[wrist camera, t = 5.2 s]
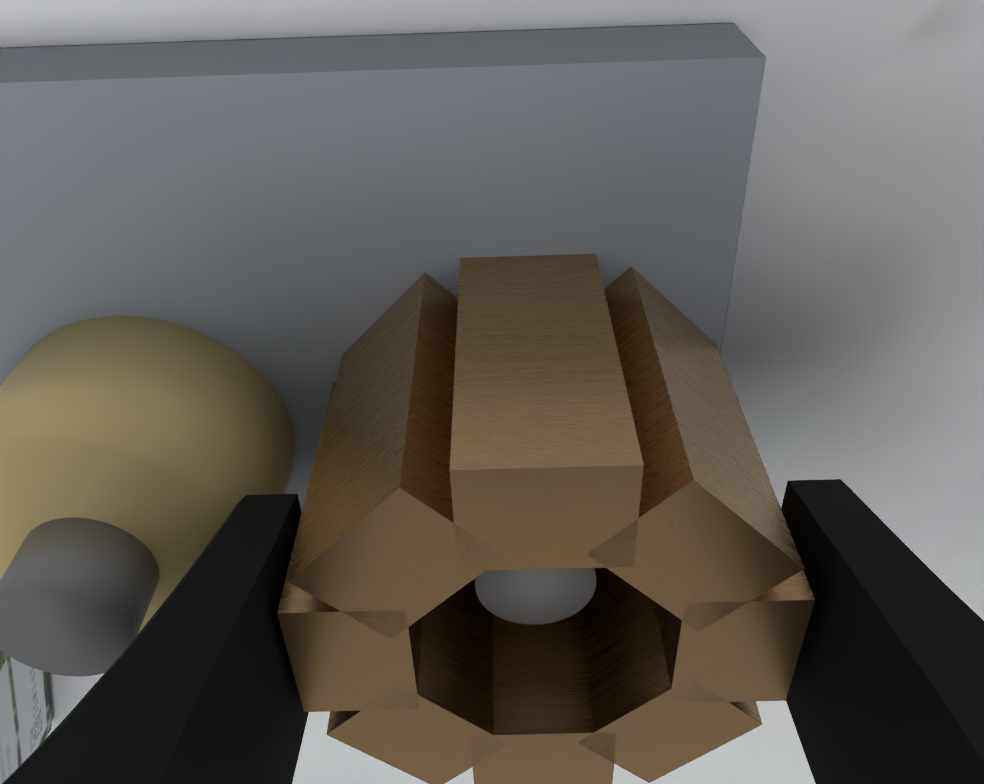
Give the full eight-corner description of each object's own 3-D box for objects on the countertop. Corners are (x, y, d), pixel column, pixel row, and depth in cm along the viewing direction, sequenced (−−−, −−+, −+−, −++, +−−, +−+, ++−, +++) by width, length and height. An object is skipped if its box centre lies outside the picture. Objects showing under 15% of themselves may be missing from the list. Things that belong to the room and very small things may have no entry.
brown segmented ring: (744, 249, 11) (856, 459, 7) (696, 550, 14) (760, 787, 11) (312, 262, 11) (239, 476, 8) (363, 559, 14) (327, 798, 11)
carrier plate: (733, 23, 11) (886, 185, 7) (662, 575, 16) (720, 839, 12) (-74, 51, 11) (-412, 226, 7) (144, 589, 17) (35, 853, 13)
